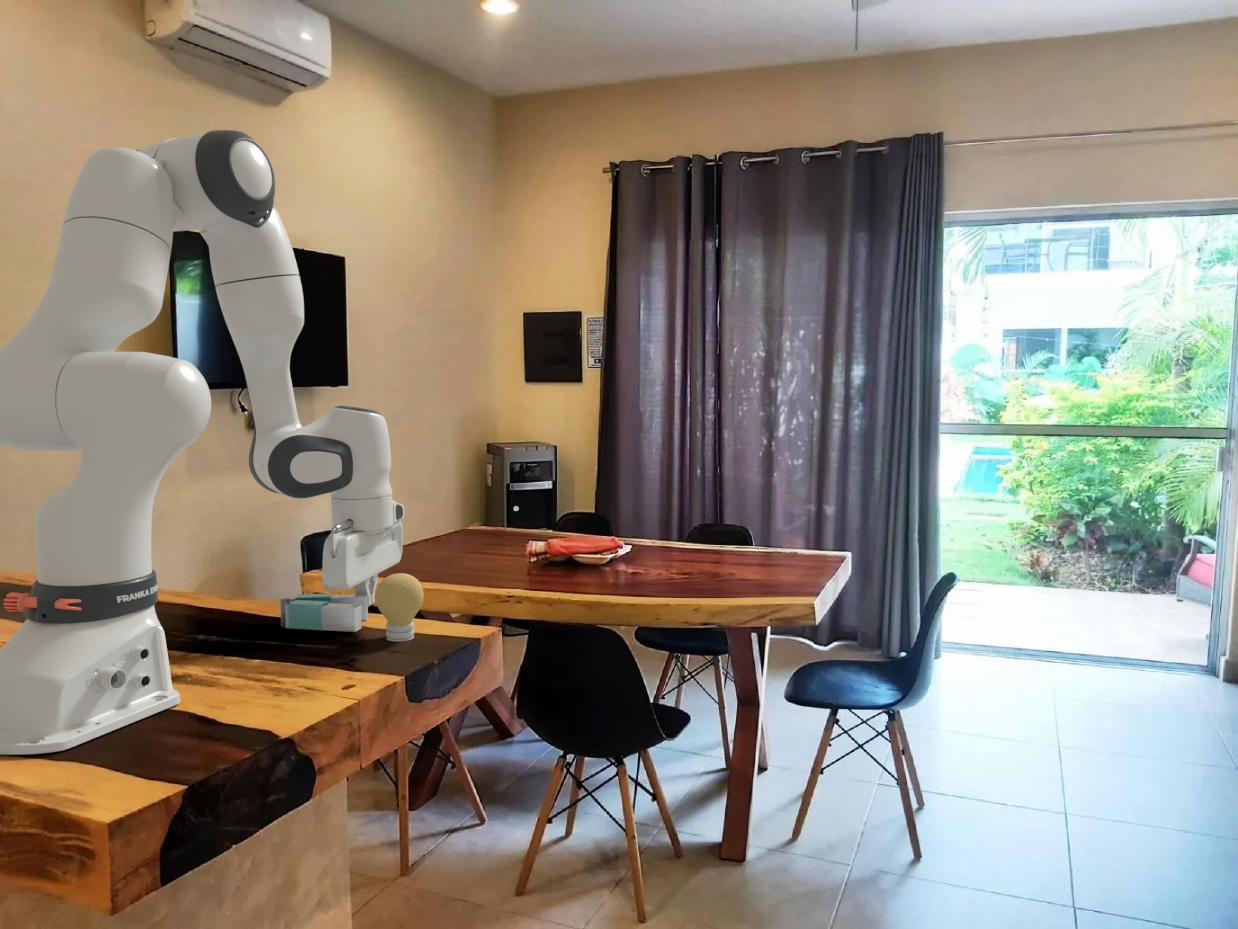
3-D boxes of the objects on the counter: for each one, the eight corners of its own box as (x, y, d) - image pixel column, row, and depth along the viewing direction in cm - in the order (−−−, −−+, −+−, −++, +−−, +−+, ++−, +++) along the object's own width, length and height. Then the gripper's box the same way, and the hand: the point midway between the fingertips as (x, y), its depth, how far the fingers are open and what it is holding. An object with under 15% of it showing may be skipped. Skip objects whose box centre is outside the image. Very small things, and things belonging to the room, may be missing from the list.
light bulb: (375, 653, 120) (373, 579, 119) (377, 640, 126) (376, 569, 125) (424, 651, 121) (423, 577, 120) (424, 637, 127) (423, 568, 126)
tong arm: (366, 620, 132) (366, 595, 132) (291, 623, 130) (290, 598, 130) (367, 616, 134) (367, 592, 134) (294, 619, 132) (293, 594, 132)
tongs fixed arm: (355, 632, 126) (354, 604, 126) (277, 628, 128) (276, 600, 127) (361, 628, 128) (361, 601, 128) (285, 624, 130) (284, 597, 130)
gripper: (351, 527, 123) (355, 625, 125) (408, 505, 143) (411, 590, 145) (308, 526, 124) (312, 624, 126) (371, 504, 144) (374, 589, 146)
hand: (366, 605), depth 135 cm, fingers closed
